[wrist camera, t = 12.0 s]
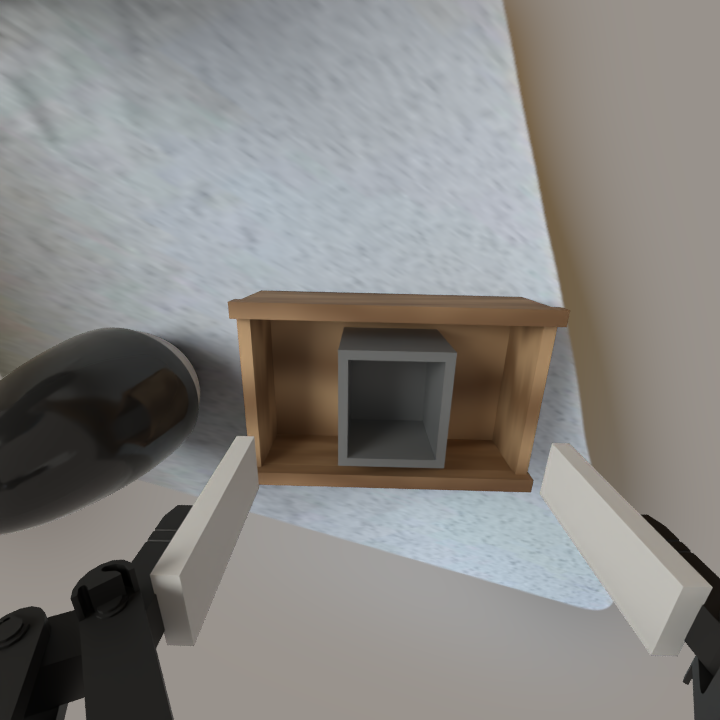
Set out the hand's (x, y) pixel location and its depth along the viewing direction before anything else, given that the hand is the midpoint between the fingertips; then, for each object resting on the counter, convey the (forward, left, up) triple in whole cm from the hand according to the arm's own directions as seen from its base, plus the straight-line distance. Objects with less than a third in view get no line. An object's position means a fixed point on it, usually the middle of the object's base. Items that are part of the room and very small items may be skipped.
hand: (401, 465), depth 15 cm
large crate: (0, 0, -13) cm, 13 cm away
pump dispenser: (+1, -19, -13) cm, 23 cm away
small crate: (+1, 0, -12) cm, 12 cm away
